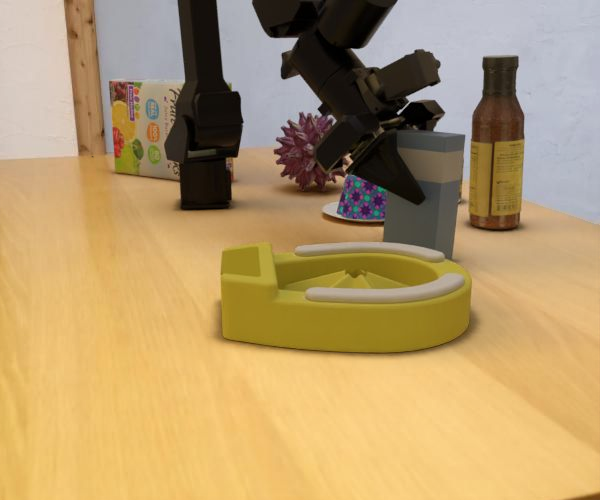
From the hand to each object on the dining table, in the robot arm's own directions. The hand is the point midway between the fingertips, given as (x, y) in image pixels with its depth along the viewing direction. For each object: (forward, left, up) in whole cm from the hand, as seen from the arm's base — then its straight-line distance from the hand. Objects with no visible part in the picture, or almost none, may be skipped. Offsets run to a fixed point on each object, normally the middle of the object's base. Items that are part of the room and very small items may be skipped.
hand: (434, 197), depth 80 cm
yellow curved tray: (-11, -14, -7) cm, 19 cm away
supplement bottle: (+10, +29, -7) cm, 31 cm away
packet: (-1, +1, -7) cm, 7 cm away
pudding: (-2, +22, -7) cm, 23 cm away
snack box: (-28, +52, -7) cm, 60 cm away
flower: (-7, +39, -7) cm, 40 cm away
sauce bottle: (+12, +15, -7) cm, 20 cm away
